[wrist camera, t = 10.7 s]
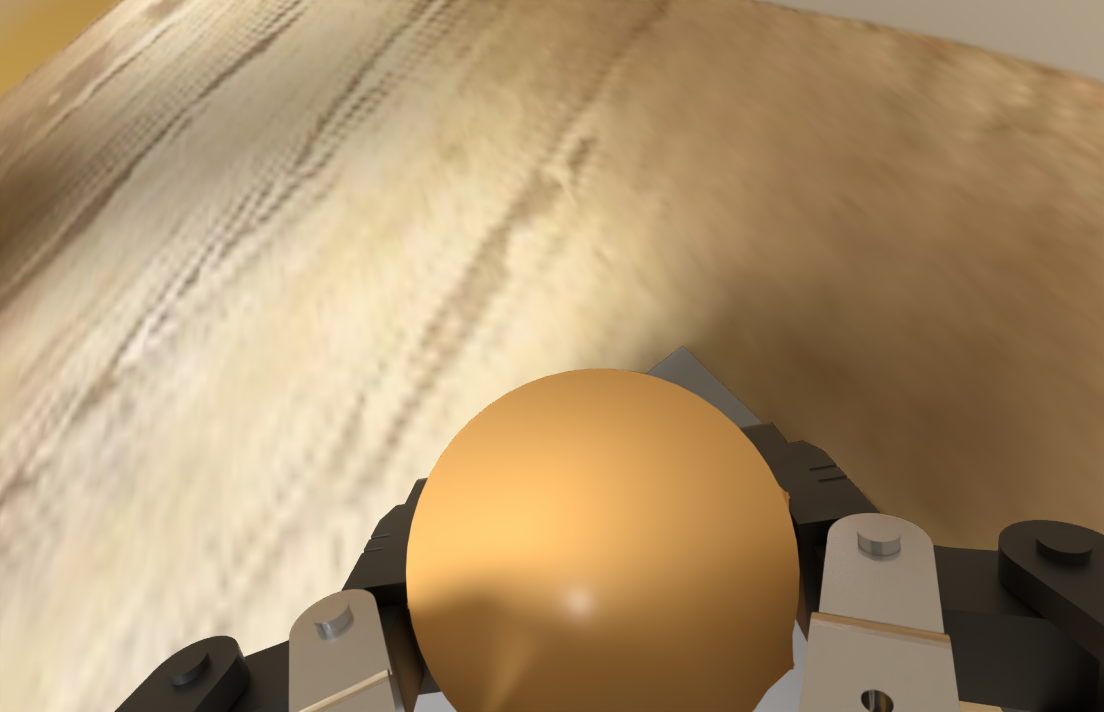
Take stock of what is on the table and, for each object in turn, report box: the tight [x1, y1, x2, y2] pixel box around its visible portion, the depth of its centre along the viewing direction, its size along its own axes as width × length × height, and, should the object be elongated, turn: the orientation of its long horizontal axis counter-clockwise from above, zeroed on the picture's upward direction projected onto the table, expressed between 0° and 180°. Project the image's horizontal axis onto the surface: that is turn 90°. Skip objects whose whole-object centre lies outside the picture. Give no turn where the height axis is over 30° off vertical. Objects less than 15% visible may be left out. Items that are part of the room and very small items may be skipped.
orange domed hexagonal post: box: [406, 369, 800, 712], centre depth 12 cm, size 6×6×8 cm
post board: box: [414, 346, 807, 712], centre depth 17 cm, size 16×12×8 cm
